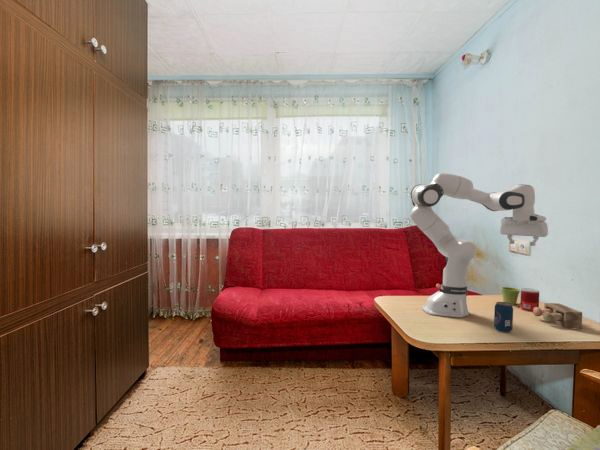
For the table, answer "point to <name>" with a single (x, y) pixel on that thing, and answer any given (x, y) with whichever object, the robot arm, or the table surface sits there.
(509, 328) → the soda can
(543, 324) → the table surface
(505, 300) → the plant pot
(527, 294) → the canned food
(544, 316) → the oak plug
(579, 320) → the socket block
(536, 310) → the terracotta plug
